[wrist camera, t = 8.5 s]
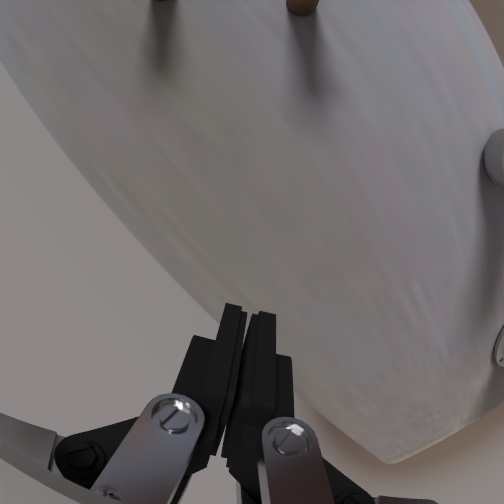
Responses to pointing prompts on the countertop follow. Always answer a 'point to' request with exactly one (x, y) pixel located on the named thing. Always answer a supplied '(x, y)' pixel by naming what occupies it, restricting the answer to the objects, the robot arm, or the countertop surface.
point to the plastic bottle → (495, 157)
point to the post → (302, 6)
